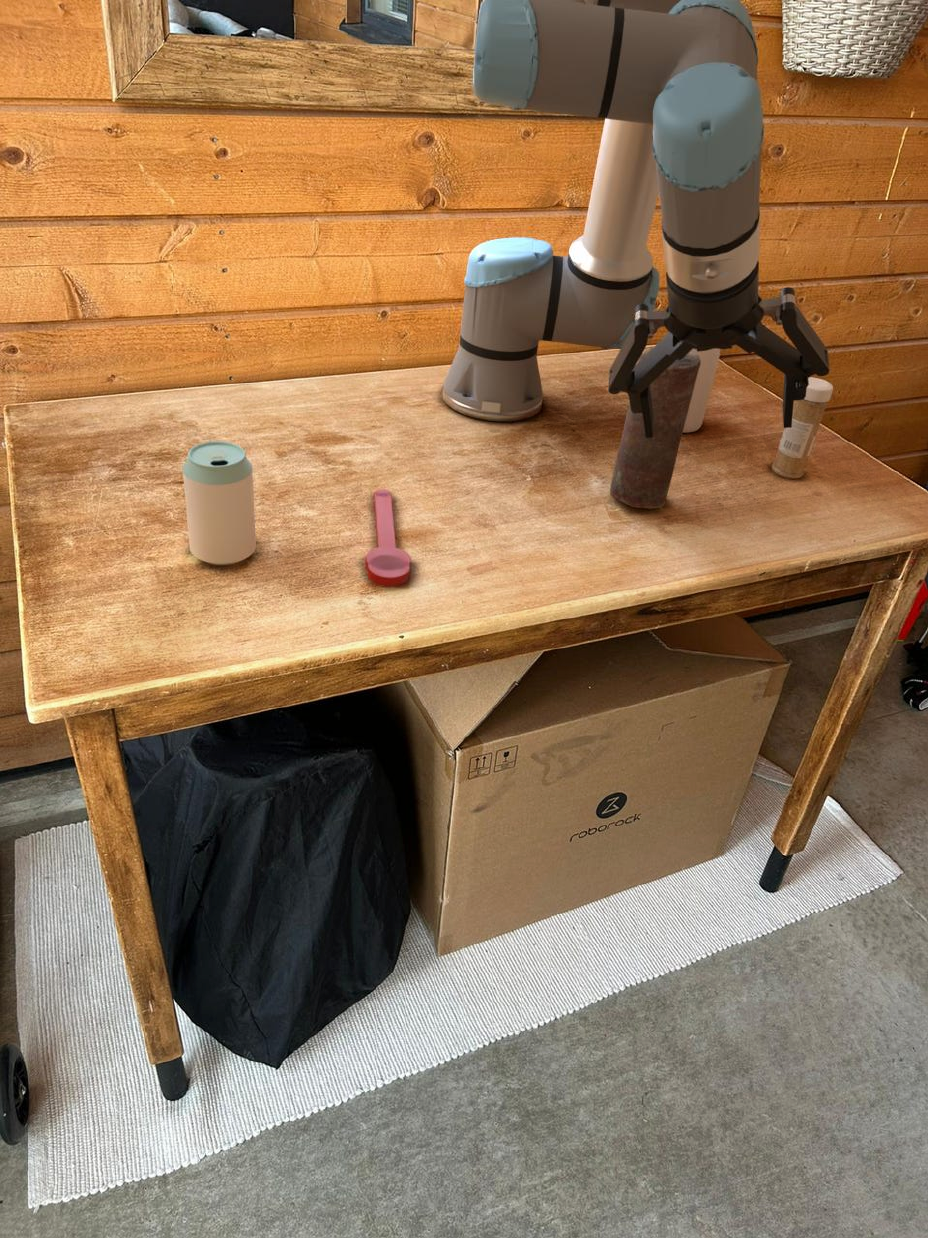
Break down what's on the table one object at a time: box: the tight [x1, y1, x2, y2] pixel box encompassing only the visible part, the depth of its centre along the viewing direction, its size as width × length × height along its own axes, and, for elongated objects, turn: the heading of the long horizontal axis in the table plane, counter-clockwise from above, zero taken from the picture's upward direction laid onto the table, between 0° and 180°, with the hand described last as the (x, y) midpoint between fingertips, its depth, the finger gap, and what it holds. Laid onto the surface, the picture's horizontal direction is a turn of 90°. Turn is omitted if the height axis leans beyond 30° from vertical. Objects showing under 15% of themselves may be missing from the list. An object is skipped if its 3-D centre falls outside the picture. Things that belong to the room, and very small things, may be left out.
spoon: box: [364, 488, 412, 588], centre depth 108 cm, size 20×5×1 cm, turn 6°
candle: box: [609, 346, 701, 510], centre depth 115 cm, size 8×7×20 cm
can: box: [182, 440, 257, 566], centre depth 99 cm, size 7×7×12 cm
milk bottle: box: [683, 349, 721, 433], centre depth 137 cm, size 8×8×20 cm
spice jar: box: [771, 376, 834, 479], centre depth 129 cm, size 5×5×13 cm
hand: (717, 422), depth 96 cm, fingers open, 13 cm apart
